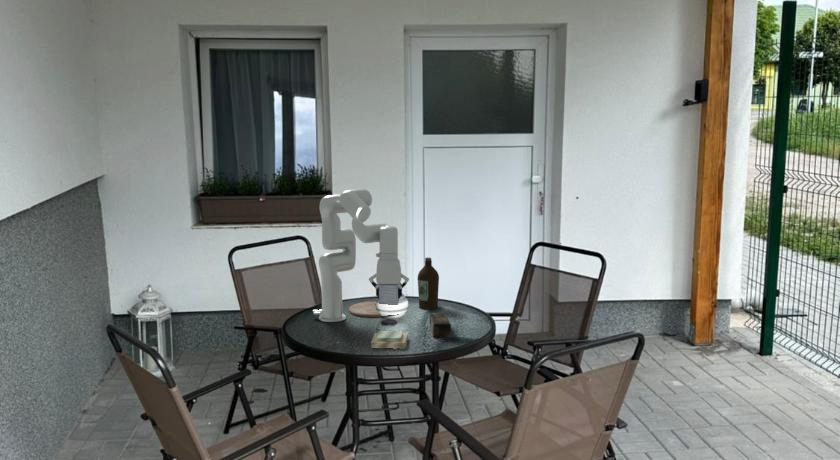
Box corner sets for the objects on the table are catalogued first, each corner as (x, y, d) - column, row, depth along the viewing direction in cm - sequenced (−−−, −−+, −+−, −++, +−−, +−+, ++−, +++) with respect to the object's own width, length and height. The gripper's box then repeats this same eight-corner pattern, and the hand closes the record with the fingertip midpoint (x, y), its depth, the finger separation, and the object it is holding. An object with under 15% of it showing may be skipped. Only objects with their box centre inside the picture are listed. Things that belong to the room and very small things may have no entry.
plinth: (371, 348, 301) (371, 339, 300) (375, 338, 315) (375, 329, 314) (405, 349, 300) (405, 339, 299) (407, 338, 314) (407, 329, 313)
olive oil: (428, 303, 374) (428, 255, 370) (443, 307, 367) (443, 257, 363) (413, 307, 367) (413, 258, 363) (428, 311, 359) (428, 260, 356)
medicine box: (399, 302, 307) (399, 282, 305) (397, 305, 302) (397, 284, 301) (380, 302, 307) (380, 281, 306) (378, 304, 303) (378, 284, 302)
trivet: (339, 310, 363) (339, 306, 363) (381, 302, 378) (381, 299, 377) (366, 321, 343) (366, 317, 343) (410, 312, 358) (410, 308, 358)
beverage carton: (446, 325, 334) (446, 311, 333) (451, 338, 316) (451, 323, 315) (429, 326, 334) (429, 312, 333) (433, 338, 315) (433, 323, 314)
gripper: (366, 257, 299) (367, 299, 301) (409, 258, 298) (409, 300, 300) (368, 254, 306) (369, 295, 309) (410, 254, 305) (410, 295, 308)
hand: (389, 297), depth 304 cm, fingers closed on medicine box, 8 cm apart
